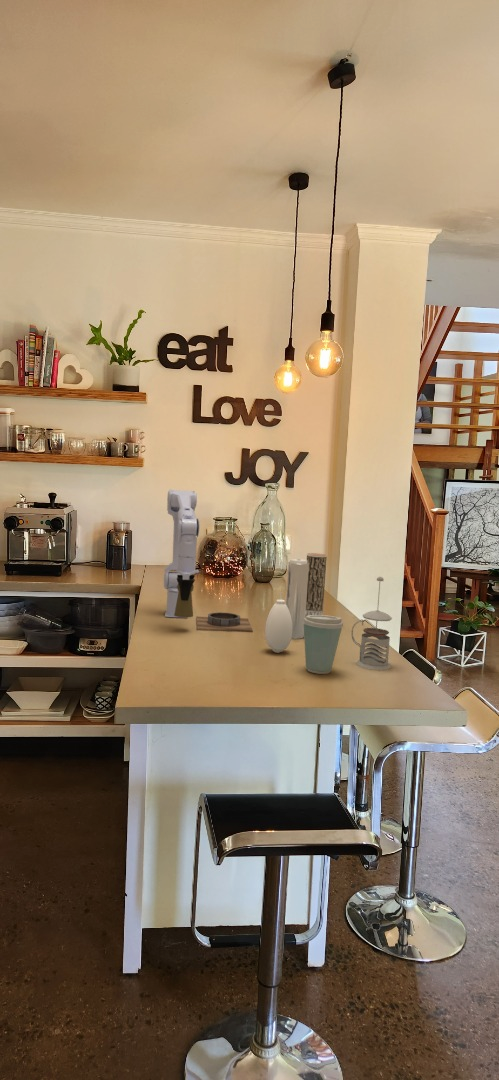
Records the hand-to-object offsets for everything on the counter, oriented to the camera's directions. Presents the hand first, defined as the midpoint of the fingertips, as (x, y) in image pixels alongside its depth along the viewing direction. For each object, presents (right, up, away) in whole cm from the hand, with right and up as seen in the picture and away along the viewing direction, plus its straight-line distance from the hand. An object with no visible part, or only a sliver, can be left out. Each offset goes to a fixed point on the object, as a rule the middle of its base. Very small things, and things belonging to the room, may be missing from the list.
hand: (184, 598), depth 218 cm
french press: (+54, -16, -26) cm, 63 cm away
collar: (+12, -10, +13) cm, 20 cm away
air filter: (+35, -13, +2) cm, 37 cm away
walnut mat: (+12, -10, +13) cm, 20 cm away
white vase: (+29, -14, -19) cm, 37 cm away
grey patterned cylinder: (+42, -11, +20) cm, 48 cm away
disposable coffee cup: (+39, -16, -36) cm, 56 cm away
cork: (0, -6, 0) cm, 6 cm away
